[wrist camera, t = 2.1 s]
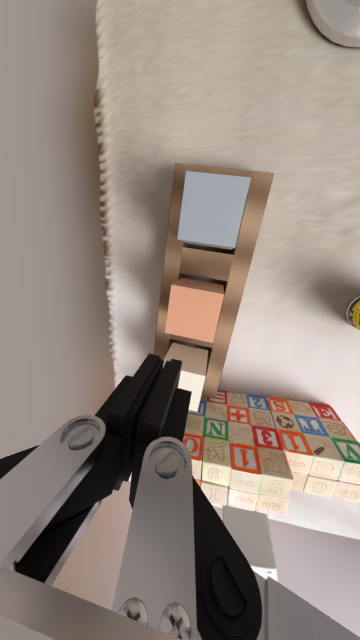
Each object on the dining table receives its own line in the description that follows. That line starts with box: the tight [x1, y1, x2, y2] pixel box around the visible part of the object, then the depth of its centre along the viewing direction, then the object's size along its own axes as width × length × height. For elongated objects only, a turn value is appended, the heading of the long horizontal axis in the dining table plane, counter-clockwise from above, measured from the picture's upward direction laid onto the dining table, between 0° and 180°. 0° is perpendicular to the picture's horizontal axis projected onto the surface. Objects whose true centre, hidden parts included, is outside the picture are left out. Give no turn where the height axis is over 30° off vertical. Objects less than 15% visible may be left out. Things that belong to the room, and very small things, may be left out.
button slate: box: [177, 171, 251, 250], centre depth 18 cm, size 5×5×6 cm
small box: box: [223, 505, 278, 582], centre depth 30 cm, size 8×6×13 cm
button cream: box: [163, 343, 208, 412], centre depth 25 cm, size 5×5×6 cm
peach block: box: [165, 278, 224, 343], centre depth 22 cm, size 5×5×6 cm
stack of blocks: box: [183, 390, 360, 518], centre depth 26 cm, size 21×6×12 cm, turn 90°
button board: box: [154, 163, 274, 398], centre depth 26 cm, size 28×10×3 cm, turn 172°
